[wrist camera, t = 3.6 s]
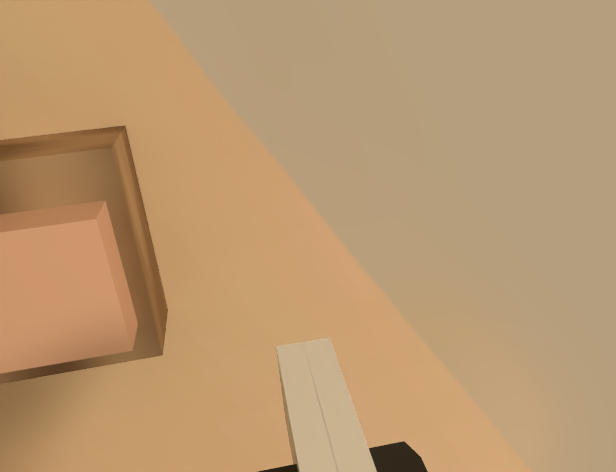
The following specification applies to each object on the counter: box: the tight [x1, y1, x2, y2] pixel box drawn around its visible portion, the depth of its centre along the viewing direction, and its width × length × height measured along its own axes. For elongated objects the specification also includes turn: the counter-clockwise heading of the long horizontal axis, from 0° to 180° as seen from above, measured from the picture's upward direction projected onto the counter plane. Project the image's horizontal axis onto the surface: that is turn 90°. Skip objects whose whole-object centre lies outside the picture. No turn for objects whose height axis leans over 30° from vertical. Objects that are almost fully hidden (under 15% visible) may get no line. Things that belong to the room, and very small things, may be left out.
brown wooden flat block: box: [0, 126, 168, 384], centre depth 23 cm, size 12×10×4 cm
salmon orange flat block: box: [0, 201, 138, 374], centre depth 21 cm, size 9×6×2 cm, turn 96°
